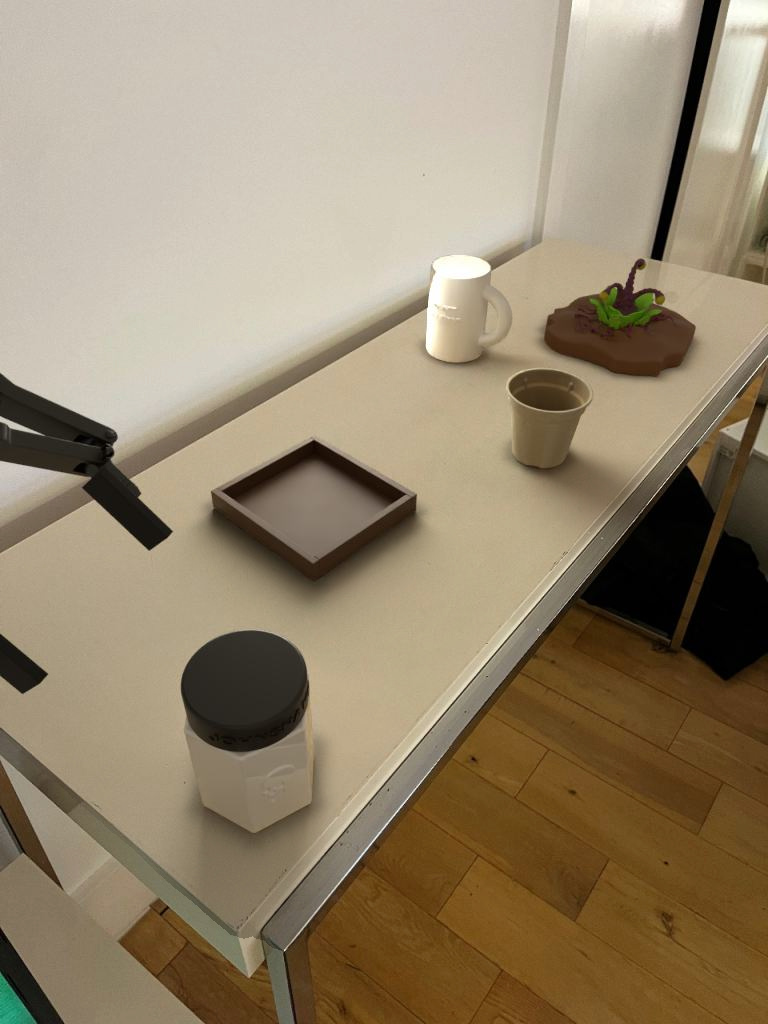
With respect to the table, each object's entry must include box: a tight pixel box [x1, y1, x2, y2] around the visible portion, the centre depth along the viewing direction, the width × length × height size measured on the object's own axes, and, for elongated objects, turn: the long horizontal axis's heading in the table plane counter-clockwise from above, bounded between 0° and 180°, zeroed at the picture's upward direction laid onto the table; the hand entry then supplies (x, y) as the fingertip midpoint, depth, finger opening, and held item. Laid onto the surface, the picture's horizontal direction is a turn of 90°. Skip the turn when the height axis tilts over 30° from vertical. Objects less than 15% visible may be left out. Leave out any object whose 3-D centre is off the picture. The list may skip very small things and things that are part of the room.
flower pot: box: [505, 367, 594, 469], centre depth 87 cm, size 9×9×9 cm
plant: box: [543, 258, 697, 377], centre depth 109 cm, size 20×20×11 cm
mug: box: [425, 254, 513, 364], centre depth 104 cm, size 8×12×12 cm
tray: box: [210, 434, 418, 582], centre depth 81 cm, size 15×16×2 cm
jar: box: [180, 628, 315, 834], centre depth 54 cm, size 9×8×12 cm
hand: (104, 606), depth 51 cm, fingers open, 13 cm apart
